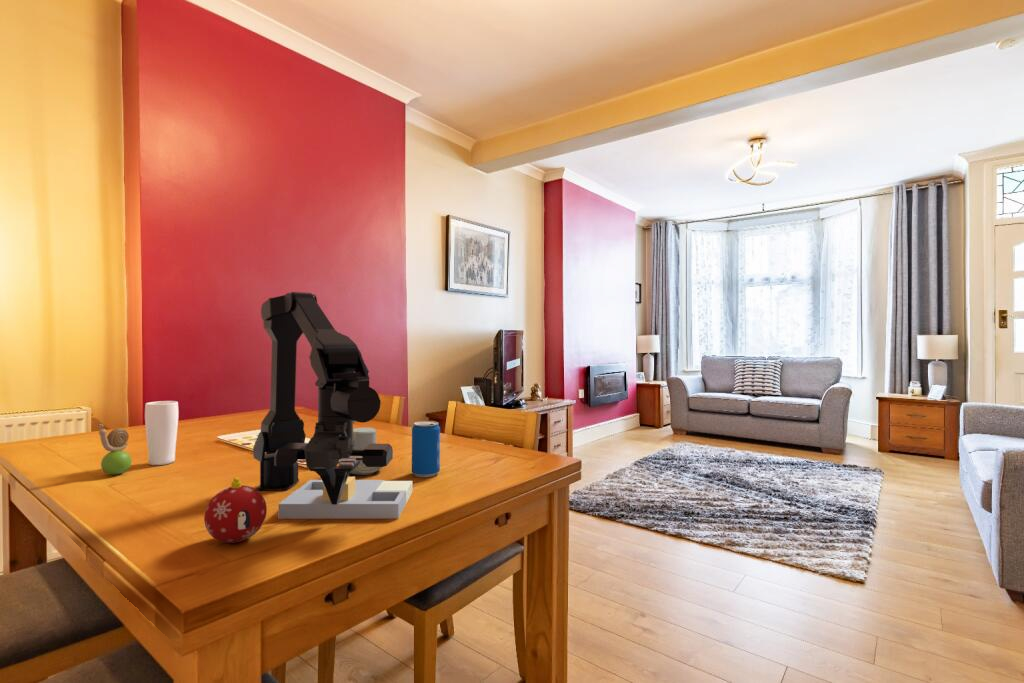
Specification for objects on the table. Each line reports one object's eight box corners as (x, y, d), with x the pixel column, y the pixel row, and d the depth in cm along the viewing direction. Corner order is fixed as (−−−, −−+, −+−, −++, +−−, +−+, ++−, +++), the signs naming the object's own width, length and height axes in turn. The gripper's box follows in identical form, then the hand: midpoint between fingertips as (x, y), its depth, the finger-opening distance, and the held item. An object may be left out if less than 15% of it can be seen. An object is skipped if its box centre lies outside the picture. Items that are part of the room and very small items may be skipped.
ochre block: (322, 500, 90) (322, 483, 90) (331, 492, 94) (331, 476, 94) (348, 500, 90) (348, 483, 90) (355, 492, 94) (355, 476, 94)
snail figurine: (90, 477, 110) (89, 423, 110) (119, 470, 116) (119, 419, 116) (109, 479, 109) (109, 425, 108) (137, 471, 115) (137, 420, 115)
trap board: (278, 518, 88) (278, 503, 88) (310, 491, 103) (310, 478, 103) (398, 518, 88) (398, 503, 88) (412, 491, 103) (412, 478, 103)
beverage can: (433, 479, 112) (434, 426, 112) (407, 477, 113) (407, 424, 113) (443, 471, 118) (444, 421, 118) (418, 469, 120) (418, 420, 119)
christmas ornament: (260, 525, 84) (260, 467, 84) (271, 543, 77) (272, 479, 77) (201, 538, 79) (201, 475, 79) (207, 557, 72) (207, 489, 72)
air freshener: (346, 480, 111) (347, 435, 110) (333, 471, 117) (333, 429, 117) (392, 471, 118) (392, 429, 117) (377, 464, 124) (377, 424, 124)
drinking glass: (151, 460, 125) (151, 401, 125) (182, 458, 127) (182, 400, 127) (140, 467, 118) (140, 405, 118) (173, 465, 120) (173, 404, 120)
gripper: (258, 422, 78) (258, 521, 78) (379, 423, 78) (378, 522, 78) (288, 410, 89) (288, 497, 89) (393, 411, 89) (392, 498, 90)
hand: (335, 503), depth 86 cm, fingers closed
